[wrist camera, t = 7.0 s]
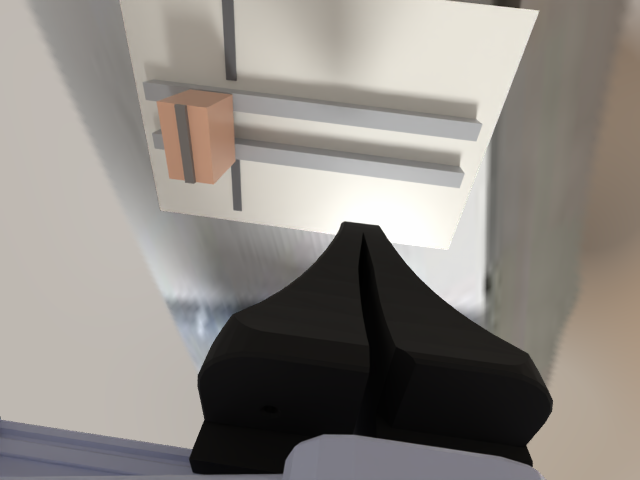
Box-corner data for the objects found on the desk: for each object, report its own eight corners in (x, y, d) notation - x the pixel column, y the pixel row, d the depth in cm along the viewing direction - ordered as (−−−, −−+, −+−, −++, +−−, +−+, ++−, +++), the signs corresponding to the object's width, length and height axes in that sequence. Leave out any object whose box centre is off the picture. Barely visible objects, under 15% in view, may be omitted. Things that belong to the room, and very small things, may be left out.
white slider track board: (441, 232, 22) (452, 259, 19) (175, 196, 22) (151, 218, 20) (519, 12, 15) (551, 9, 13) (138, -30, 16) (96, -41, 13)
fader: (240, 155, 18) (211, 186, 14) (204, 150, 18) (167, 180, 14) (238, 91, 16) (204, 108, 12) (197, 86, 16) (153, 102, 13)
